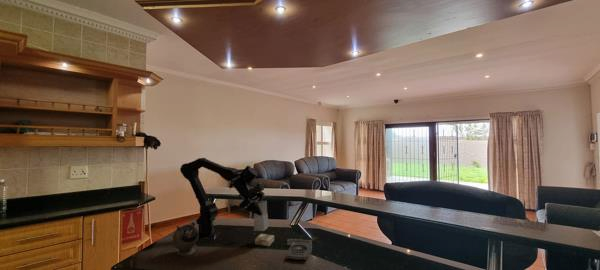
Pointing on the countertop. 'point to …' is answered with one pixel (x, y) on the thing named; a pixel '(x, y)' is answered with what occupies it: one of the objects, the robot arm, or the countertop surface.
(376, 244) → the countertop surface
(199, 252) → the countertop surface
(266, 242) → the stand
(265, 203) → the housing
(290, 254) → the graphics card
